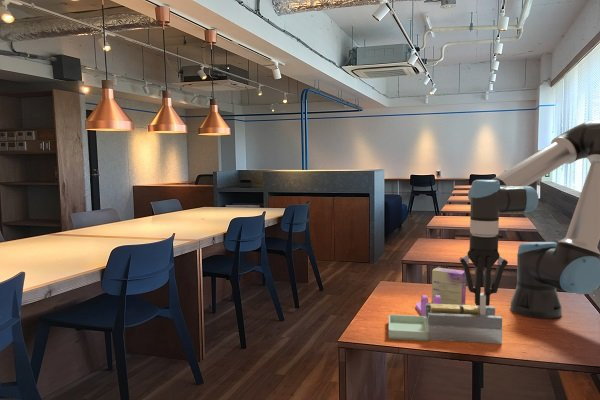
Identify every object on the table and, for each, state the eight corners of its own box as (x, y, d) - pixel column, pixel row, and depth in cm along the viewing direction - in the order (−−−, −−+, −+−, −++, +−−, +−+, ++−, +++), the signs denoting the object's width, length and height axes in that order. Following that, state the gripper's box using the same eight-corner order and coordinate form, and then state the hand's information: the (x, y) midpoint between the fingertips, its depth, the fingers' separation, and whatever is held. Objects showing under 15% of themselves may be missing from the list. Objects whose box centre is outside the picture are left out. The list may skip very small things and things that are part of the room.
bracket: (441, 318, 155) (441, 296, 154) (423, 318, 155) (423, 297, 154) (430, 305, 168) (430, 286, 167) (414, 306, 168) (414, 286, 167)
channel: (492, 328, 144) (493, 305, 144) (502, 343, 133) (502, 318, 132) (425, 325, 148) (425, 302, 147) (428, 339, 136) (428, 315, 136)
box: (465, 303, 169) (466, 270, 168) (461, 308, 165) (462, 273, 164) (436, 299, 175) (436, 266, 174) (431, 303, 170) (431, 270, 169)
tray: (425, 324, 149) (425, 316, 149) (428, 341, 135) (428, 332, 135) (388, 322, 151) (388, 314, 151) (388, 338, 137) (388, 330, 137)
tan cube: (458, 318, 142) (458, 304, 142) (460, 322, 138) (460, 309, 138) (444, 317, 143) (444, 304, 142) (445, 322, 139) (445, 308, 139)
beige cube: (476, 319, 141) (476, 305, 141) (478, 323, 137) (478, 309, 137) (461, 318, 142) (462, 305, 142) (463, 322, 138) (464, 309, 138)
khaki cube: (444, 317, 143) (444, 304, 142) (445, 322, 139) (445, 308, 139) (430, 316, 144) (430, 303, 143) (431, 321, 140) (431, 307, 139)
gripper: (505, 233, 139) (502, 313, 141) (457, 232, 142) (456, 311, 144) (511, 237, 132) (509, 322, 134) (461, 236, 134) (459, 319, 136)
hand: (481, 316), depth 139 cm, fingers closed
